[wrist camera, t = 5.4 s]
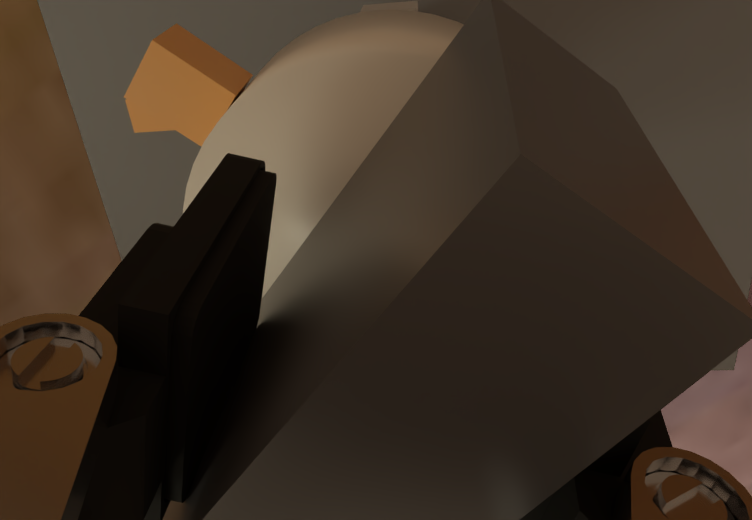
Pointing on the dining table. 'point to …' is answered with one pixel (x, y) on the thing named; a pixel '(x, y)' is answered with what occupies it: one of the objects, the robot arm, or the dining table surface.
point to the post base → (535, 3)
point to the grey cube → (441, 268)
